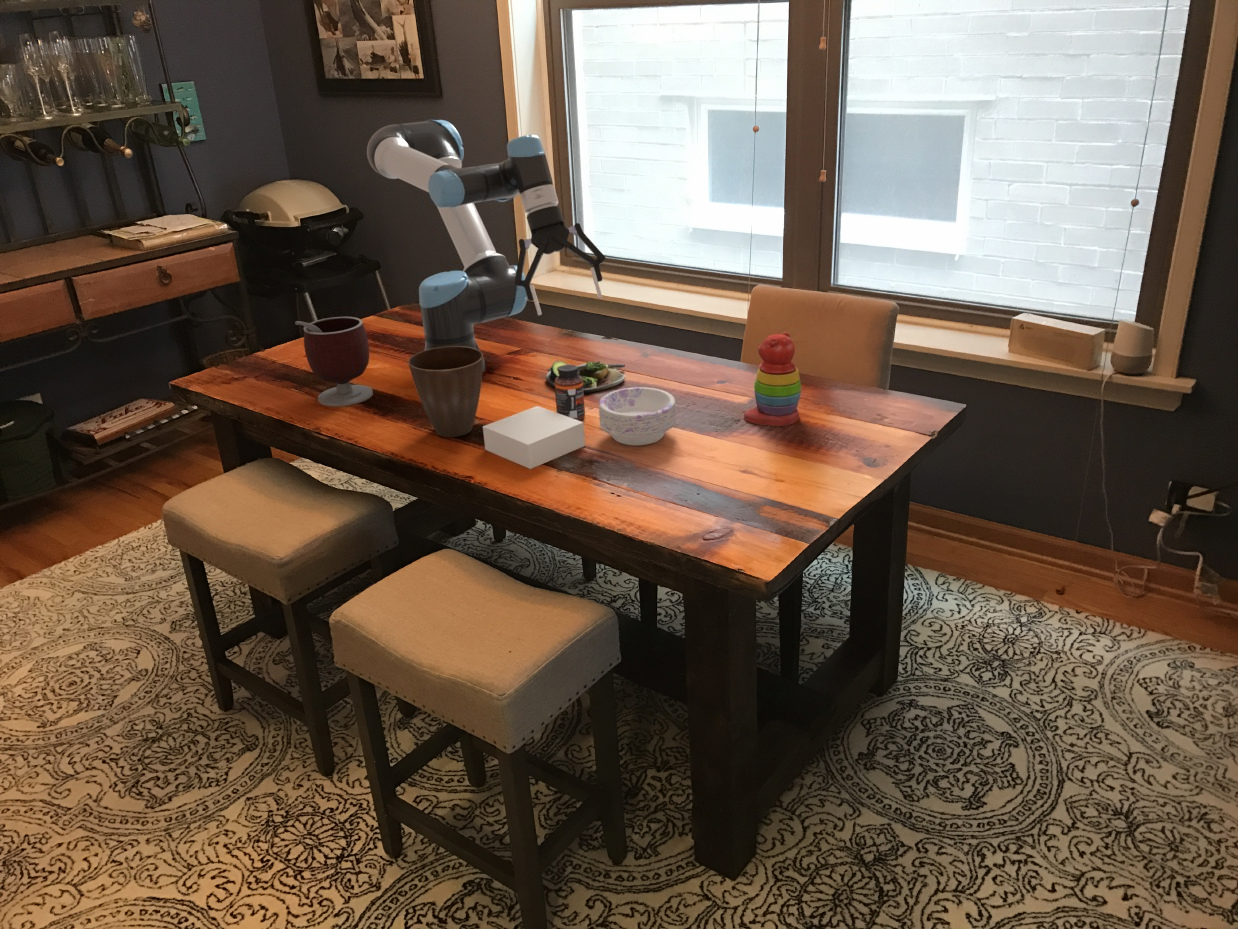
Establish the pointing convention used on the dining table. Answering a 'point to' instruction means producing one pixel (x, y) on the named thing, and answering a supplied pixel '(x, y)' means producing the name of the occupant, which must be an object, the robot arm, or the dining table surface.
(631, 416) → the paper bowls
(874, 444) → the dining table surface
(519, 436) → the white flat block
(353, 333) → the mate gourd
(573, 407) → the supplement bottle
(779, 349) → the stacking bear
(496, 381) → the dining table surface
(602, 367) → the salad plate
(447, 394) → the plant pot
